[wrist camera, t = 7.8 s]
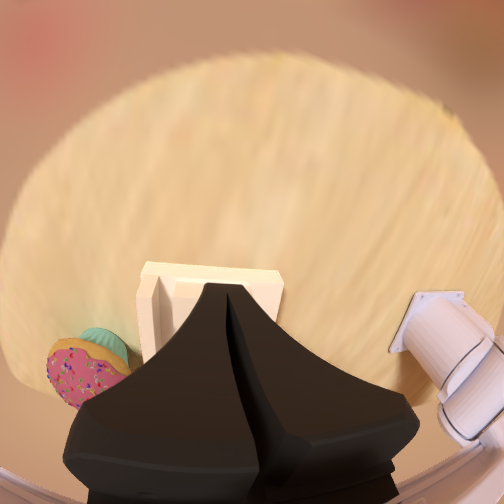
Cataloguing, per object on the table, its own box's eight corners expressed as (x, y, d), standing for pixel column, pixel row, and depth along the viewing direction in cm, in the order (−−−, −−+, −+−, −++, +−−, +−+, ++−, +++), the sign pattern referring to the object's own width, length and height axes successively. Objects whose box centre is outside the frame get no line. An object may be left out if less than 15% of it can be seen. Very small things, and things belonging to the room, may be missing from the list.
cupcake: (150, 325, 22) (125, 450, 11) (143, 384, 25) (129, 486, 14) (62, 299, 20) (0, 400, 9) (69, 362, 23) (34, 453, 12)
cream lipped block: (278, 270, 21) (294, 305, 17) (254, 382, 26) (261, 419, 22) (146, 261, 20) (130, 295, 15) (156, 377, 24) (150, 415, 20)
